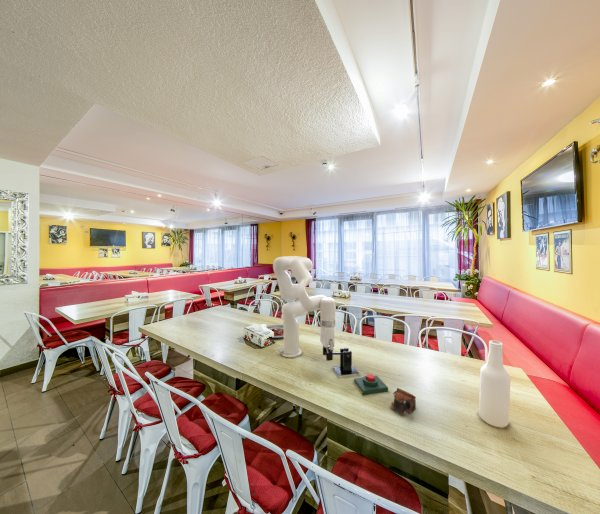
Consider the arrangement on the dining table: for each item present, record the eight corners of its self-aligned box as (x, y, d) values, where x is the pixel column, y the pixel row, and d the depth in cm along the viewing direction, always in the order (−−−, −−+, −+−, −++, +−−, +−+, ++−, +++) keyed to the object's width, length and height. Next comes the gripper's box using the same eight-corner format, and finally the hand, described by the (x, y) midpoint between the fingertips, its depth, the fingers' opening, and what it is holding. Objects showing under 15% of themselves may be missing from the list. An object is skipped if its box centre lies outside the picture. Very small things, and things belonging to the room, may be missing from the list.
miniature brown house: (384, 404, 100) (390, 384, 103) (404, 413, 101) (409, 392, 104) (402, 417, 89) (408, 393, 91) (424, 426, 90) (429, 403, 92)
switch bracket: (339, 378, 120) (338, 355, 119) (332, 369, 129) (332, 347, 128) (359, 375, 122) (359, 352, 121) (352, 366, 131) (352, 345, 130)
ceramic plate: (285, 342, 164) (285, 337, 164) (253, 337, 173) (253, 333, 173) (299, 329, 189) (299, 325, 188) (269, 326, 197) (269, 322, 197)
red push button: (368, 382, 110) (368, 378, 109) (365, 378, 113) (365, 374, 113) (376, 381, 110) (376, 377, 110) (372, 377, 114) (372, 373, 114)
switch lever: (327, 357, 120) (327, 353, 120) (324, 353, 125) (324, 348, 125) (350, 357, 123) (350, 353, 123) (346, 353, 128) (346, 349, 127)
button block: (363, 395, 106) (363, 386, 106) (353, 382, 116) (353, 374, 115) (388, 392, 108) (388, 383, 108) (376, 379, 118) (376, 371, 118)
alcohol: (472, 413, 94) (475, 338, 92) (490, 410, 96) (493, 336, 94) (495, 430, 85) (498, 348, 84) (514, 426, 87) (518, 345, 86)
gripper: (316, 318, 129) (316, 350, 130) (325, 329, 113) (325, 366, 114) (329, 317, 131) (329, 349, 132) (340, 327, 114) (340, 365, 115)
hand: (327, 357), depth 123 cm, fingers closed on switch lever, 5 cm apart
